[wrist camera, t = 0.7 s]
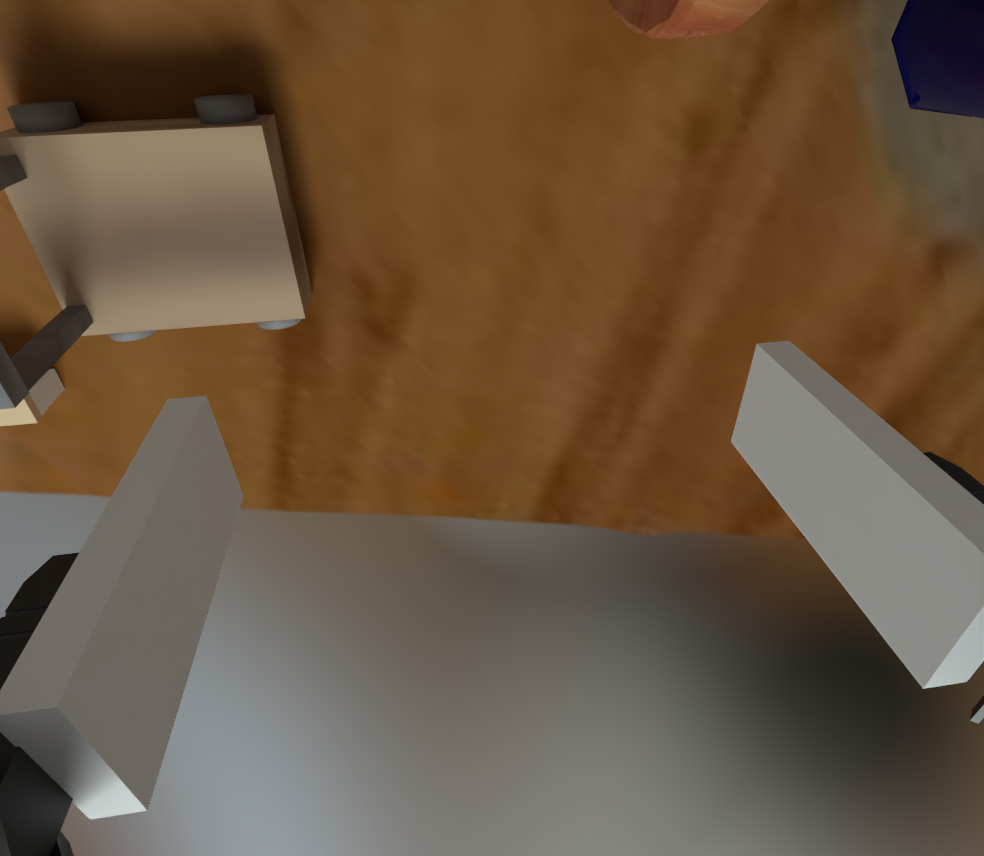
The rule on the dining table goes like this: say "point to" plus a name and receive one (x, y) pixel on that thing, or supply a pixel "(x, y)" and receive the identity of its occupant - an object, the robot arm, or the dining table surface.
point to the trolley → (152, 225)
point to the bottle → (942, 55)
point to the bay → (34, 401)
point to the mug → (685, 16)
